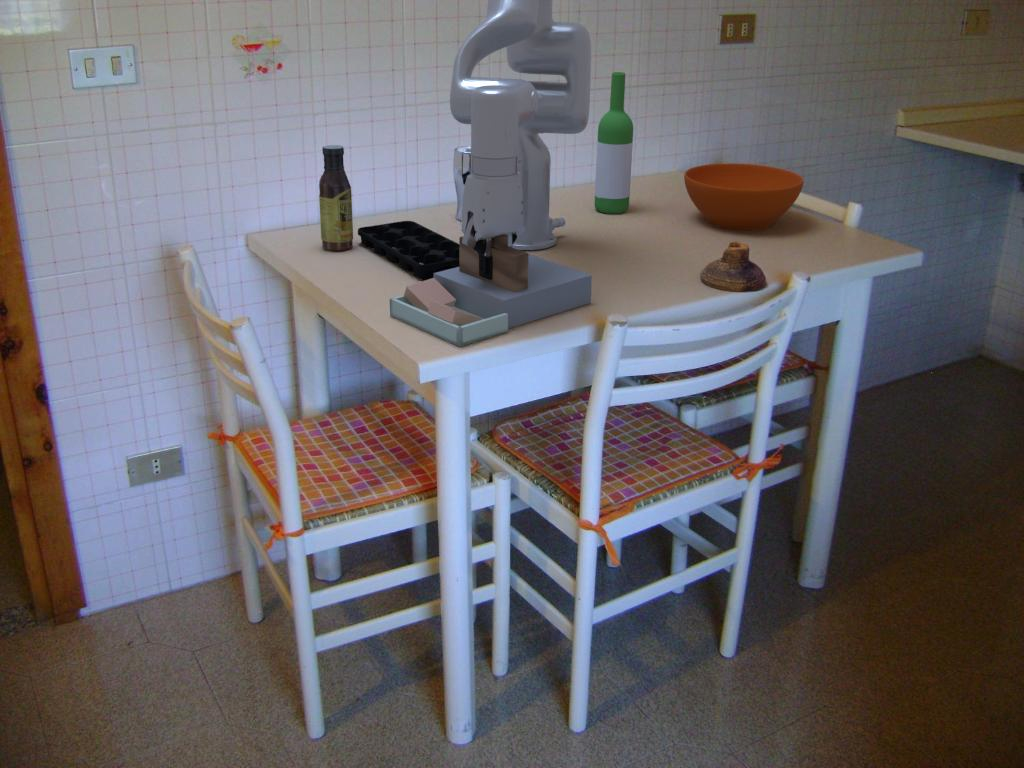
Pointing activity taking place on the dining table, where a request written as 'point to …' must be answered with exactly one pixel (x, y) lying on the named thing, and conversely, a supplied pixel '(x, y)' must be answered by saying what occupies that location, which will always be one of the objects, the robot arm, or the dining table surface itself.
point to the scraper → (498, 264)
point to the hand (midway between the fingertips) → (493, 275)
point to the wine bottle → (614, 153)
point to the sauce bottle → (335, 201)
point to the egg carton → (412, 247)
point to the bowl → (742, 194)
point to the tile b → (452, 314)
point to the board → (520, 292)
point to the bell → (734, 271)
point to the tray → (448, 323)
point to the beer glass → (461, 174)
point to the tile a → (428, 294)
